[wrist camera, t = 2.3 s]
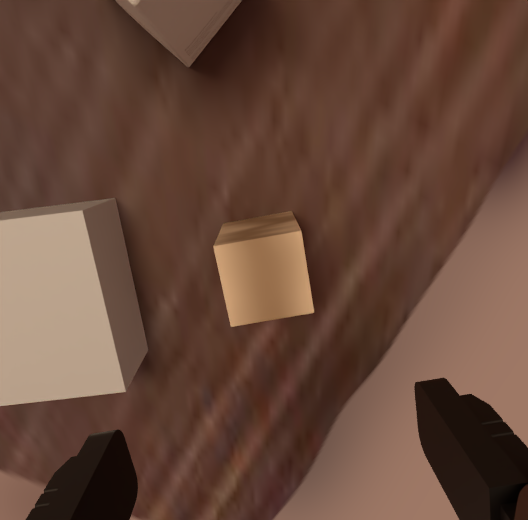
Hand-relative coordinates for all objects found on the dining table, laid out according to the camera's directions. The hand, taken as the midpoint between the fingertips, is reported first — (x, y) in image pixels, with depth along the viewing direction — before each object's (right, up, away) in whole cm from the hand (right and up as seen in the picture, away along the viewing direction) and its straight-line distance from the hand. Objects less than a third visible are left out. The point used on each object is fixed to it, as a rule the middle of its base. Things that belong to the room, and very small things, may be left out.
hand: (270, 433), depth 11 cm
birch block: (0, +5, +19) cm, 20 cm away
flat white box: (-16, +3, +20) cm, 26 cm away
